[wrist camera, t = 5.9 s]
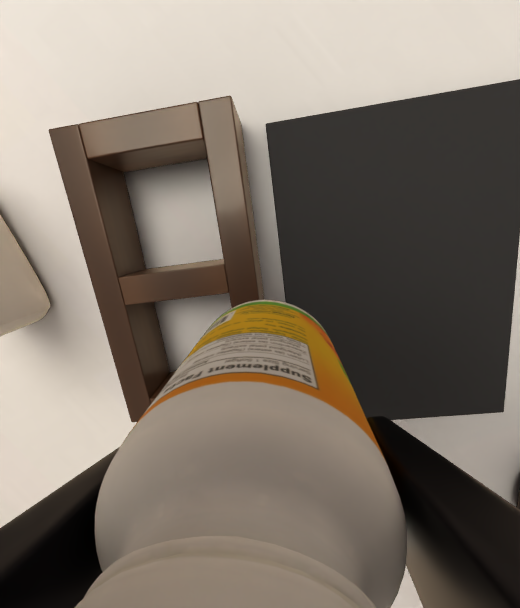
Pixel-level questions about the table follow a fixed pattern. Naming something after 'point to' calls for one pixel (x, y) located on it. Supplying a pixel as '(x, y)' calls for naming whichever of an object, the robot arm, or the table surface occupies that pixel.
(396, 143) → the desk mat
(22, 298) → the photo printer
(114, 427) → the table surface
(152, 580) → the supplement bottle
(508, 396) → the table surface
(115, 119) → the bottle holder
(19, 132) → the table surface
